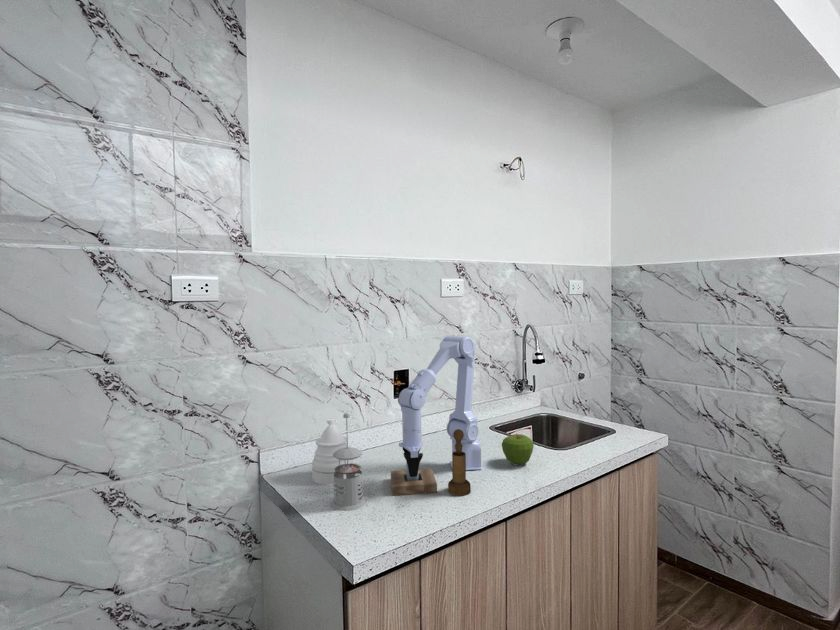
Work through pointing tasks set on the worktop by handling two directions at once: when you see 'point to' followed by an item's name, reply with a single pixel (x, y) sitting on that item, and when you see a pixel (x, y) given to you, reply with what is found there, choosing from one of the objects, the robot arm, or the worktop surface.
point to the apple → (517, 449)
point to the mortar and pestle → (459, 469)
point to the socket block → (413, 483)
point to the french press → (347, 479)
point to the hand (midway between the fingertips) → (412, 473)
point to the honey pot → (328, 454)
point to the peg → (411, 477)
